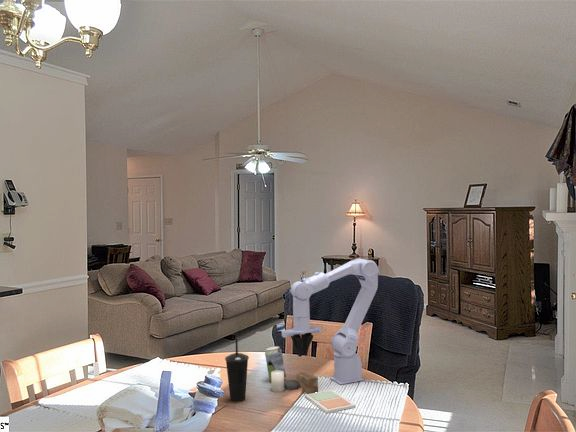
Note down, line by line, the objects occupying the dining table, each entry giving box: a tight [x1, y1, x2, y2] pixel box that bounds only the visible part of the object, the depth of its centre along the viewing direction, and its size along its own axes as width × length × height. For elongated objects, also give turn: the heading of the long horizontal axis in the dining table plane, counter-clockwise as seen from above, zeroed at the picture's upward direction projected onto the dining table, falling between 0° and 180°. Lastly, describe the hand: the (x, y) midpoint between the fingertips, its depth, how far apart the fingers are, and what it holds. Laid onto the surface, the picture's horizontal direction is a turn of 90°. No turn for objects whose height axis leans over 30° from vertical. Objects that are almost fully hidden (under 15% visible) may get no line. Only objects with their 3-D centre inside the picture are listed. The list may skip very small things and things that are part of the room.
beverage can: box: [264, 346, 287, 381], centre depth 181 cm, size 6×7×12 cm
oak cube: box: [295, 371, 312, 389], centre depth 176 cm, size 4×4×4 cm
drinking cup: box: [224, 337, 250, 403], centre depth 164 cm, size 8×8×20 cm
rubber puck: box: [284, 379, 300, 391], centre depth 174 cm, size 5×5×2 cm
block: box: [301, 373, 319, 395], centre depth 170 cm, size 4×4×5 cm
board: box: [304, 389, 356, 414], centre depth 160 cm, size 10×15×1 cm, turn 24°
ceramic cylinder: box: [270, 370, 285, 393], centre depth 172 cm, size 4×4×6 cm
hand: (302, 355), depth 176 cm, fingers closed
